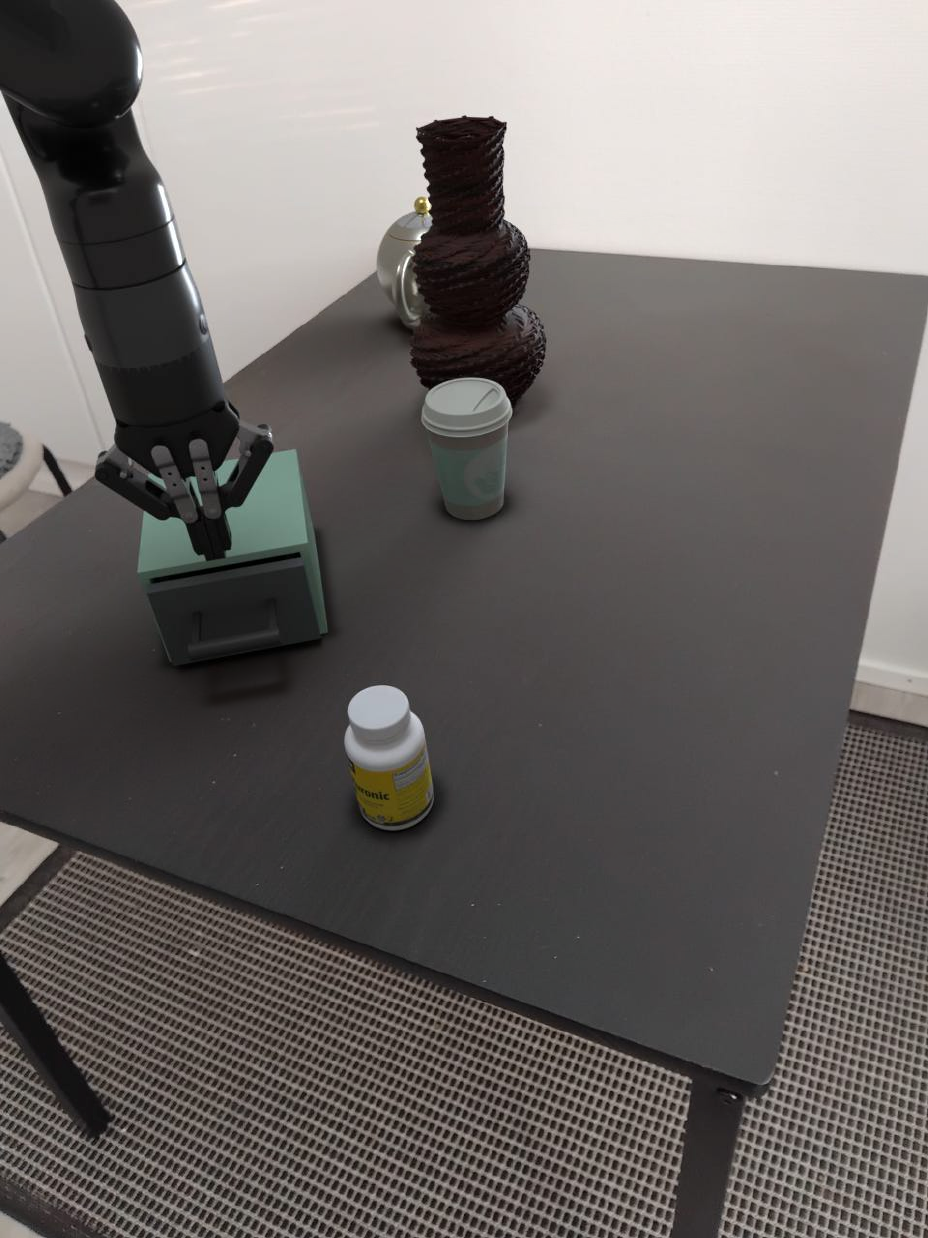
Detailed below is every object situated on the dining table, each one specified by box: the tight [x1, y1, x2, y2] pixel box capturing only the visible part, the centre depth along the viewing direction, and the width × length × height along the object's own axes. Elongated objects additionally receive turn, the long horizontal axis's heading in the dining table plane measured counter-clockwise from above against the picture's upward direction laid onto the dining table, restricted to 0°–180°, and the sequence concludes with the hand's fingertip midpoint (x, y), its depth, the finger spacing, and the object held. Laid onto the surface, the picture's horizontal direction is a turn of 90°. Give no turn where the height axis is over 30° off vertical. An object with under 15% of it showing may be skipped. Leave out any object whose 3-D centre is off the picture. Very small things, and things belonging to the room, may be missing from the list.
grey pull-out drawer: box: [147, 552, 322, 667], centre depth 83 cm, size 20×12×8 cm, turn 11°
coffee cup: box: [420, 378, 513, 521], centre depth 94 cm, size 8×8×12 cm
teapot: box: [376, 196, 440, 331], centre depth 128 cm, size 18×14×16 cm
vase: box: [408, 114, 547, 413], centre depth 104 cm, size 15×15×30 cm
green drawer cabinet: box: [136, 448, 329, 663], centre depth 87 cm, size 16×14×10 cm
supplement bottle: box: [343, 684, 435, 831], centre depth 66 cm, size 5×5×10 cm
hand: (215, 553), depth 74 cm, fingers closed
